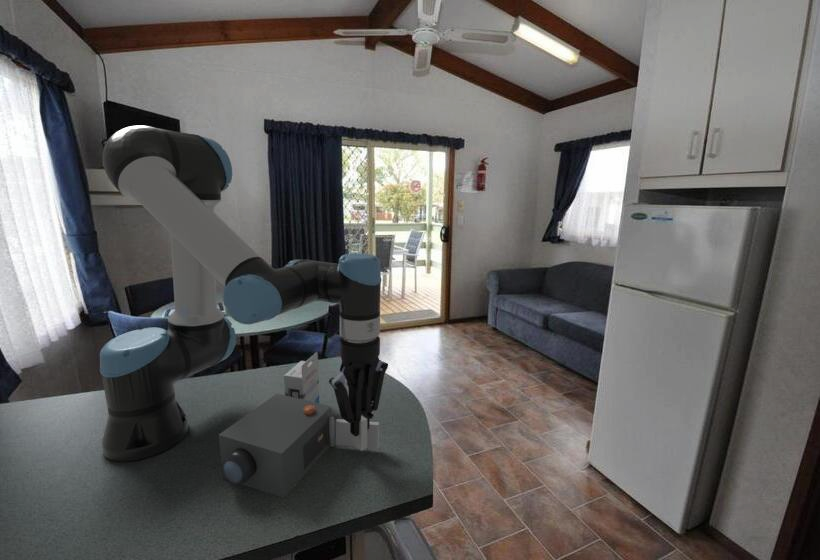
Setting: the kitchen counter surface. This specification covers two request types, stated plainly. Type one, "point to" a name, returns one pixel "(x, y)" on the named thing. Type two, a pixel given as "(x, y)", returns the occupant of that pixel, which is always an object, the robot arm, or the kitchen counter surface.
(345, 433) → the side door
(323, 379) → the kitchen counter surface
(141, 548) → the kitchen counter surface
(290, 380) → the ink box
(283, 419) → the block
